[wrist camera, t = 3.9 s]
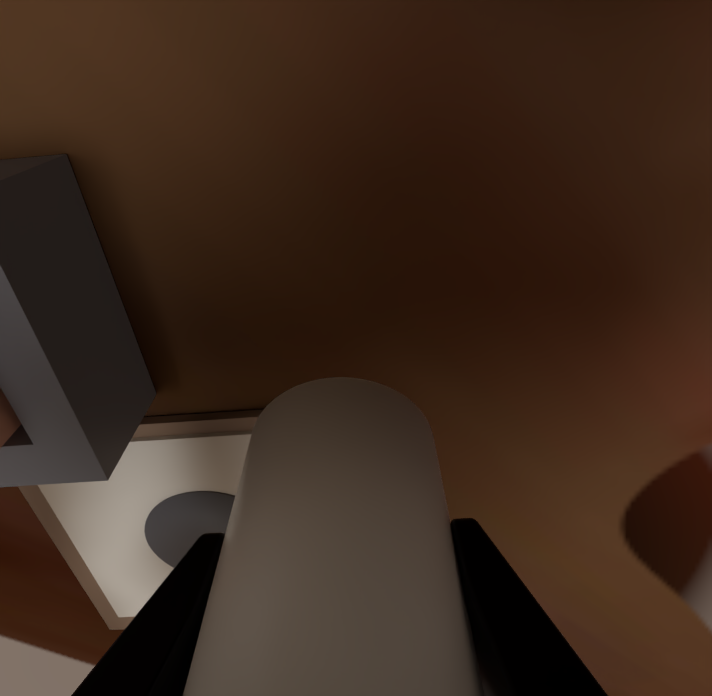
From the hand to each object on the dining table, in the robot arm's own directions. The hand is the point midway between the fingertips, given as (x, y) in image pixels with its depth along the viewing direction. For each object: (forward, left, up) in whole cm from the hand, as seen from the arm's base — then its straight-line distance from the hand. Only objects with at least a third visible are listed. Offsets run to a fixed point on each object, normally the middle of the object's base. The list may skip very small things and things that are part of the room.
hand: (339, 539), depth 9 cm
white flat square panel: (+6, +10, -8) cm, 14 cm away
